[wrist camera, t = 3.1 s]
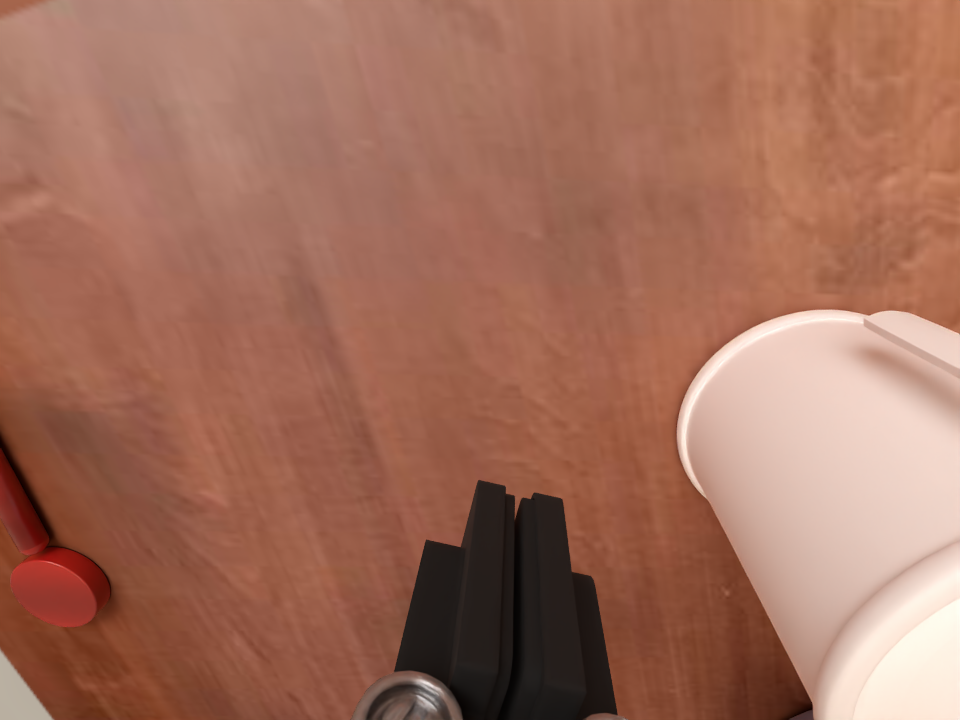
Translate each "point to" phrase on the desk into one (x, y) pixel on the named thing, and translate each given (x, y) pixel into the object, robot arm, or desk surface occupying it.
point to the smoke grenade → (842, 500)
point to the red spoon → (48, 564)
